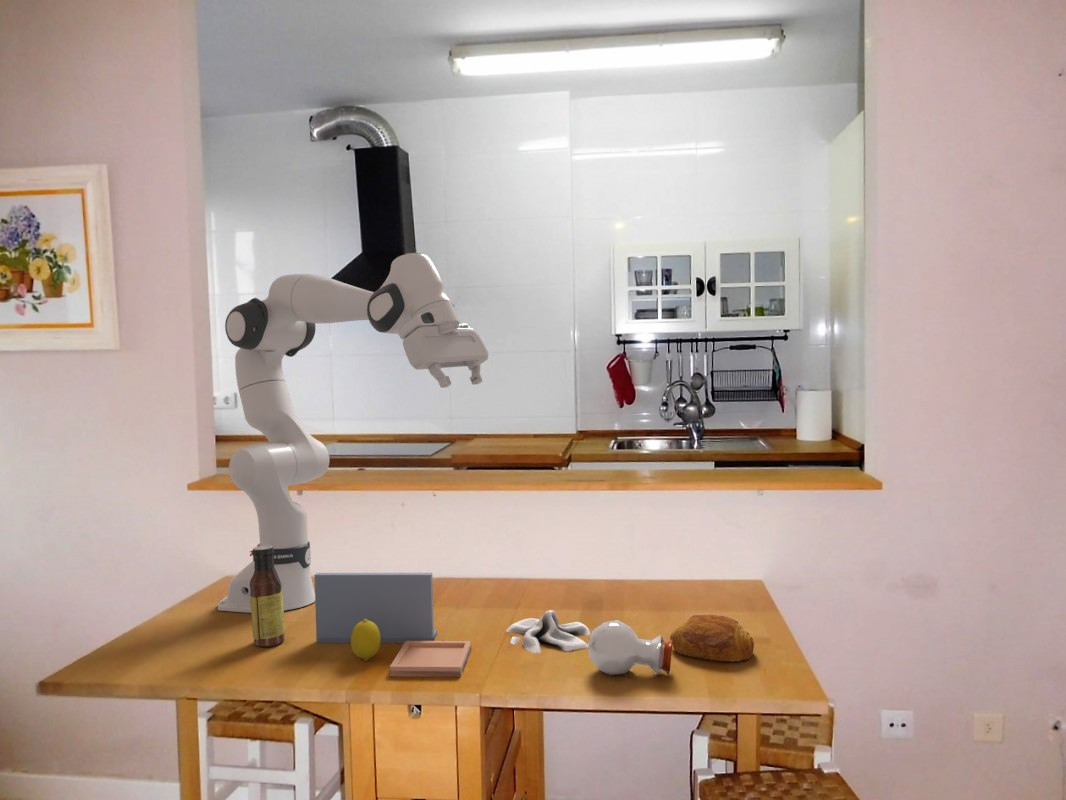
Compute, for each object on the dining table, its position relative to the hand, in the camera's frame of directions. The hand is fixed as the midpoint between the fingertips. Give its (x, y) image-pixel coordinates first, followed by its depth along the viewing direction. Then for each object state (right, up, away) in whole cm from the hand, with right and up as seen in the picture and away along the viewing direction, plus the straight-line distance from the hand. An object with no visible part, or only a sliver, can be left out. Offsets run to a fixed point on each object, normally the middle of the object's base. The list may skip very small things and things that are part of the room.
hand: (462, 384), depth 152 cm
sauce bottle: (-40, -53, +4) cm, 67 cm away
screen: (-18, -52, +6) cm, 56 cm away
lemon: (-18, -53, -6) cm, 56 cm away
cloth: (+17, -53, +4) cm, 55 cm away
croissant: (+49, -52, -4) cm, 72 cm away
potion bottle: (+32, -53, -14) cm, 63 cm away
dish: (-5, -53, -8) cm, 54 cm away
